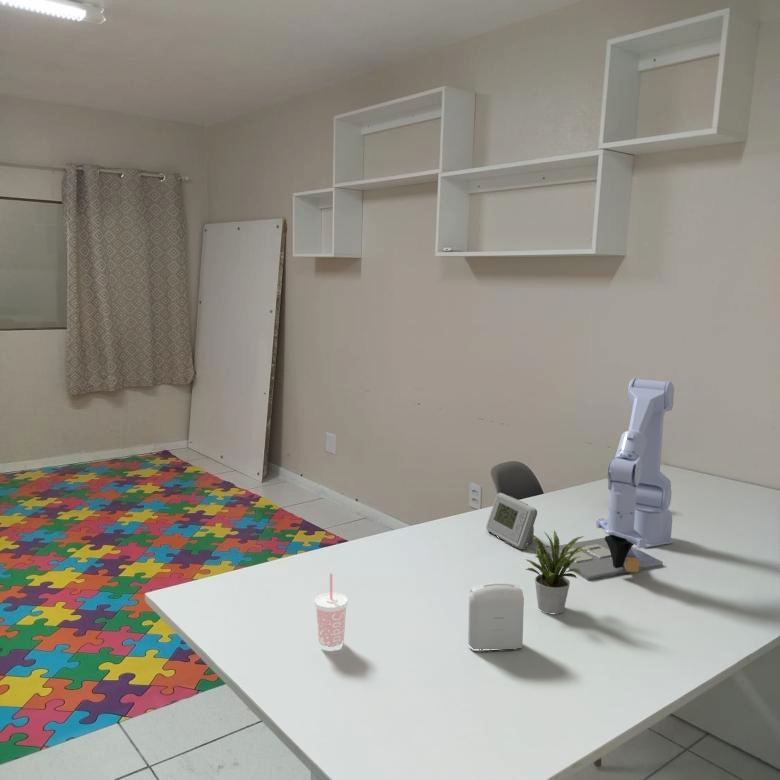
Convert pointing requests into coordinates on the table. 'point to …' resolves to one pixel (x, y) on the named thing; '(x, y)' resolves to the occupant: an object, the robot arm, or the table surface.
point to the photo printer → (496, 616)
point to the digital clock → (512, 520)
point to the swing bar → (631, 562)
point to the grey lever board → (601, 559)
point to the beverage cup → (331, 617)
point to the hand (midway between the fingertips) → (618, 566)
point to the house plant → (553, 574)
